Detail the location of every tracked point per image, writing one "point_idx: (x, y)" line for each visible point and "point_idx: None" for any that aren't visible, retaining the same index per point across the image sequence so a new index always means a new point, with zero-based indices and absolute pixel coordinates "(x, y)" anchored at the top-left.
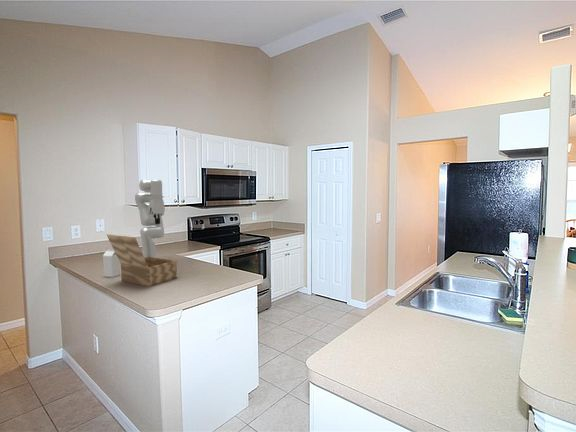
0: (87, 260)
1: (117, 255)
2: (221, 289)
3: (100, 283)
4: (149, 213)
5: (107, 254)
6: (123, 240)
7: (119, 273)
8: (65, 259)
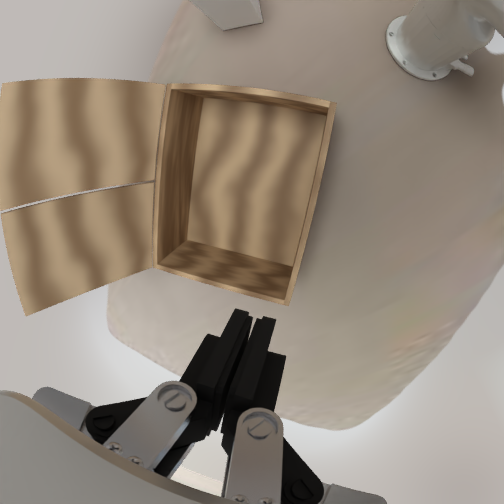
0: None
1: (124, 87)
2: None
3: (155, 65)
4: (9, 392)
5: None
6: (25, 217)
7: (260, 21)
8: None
